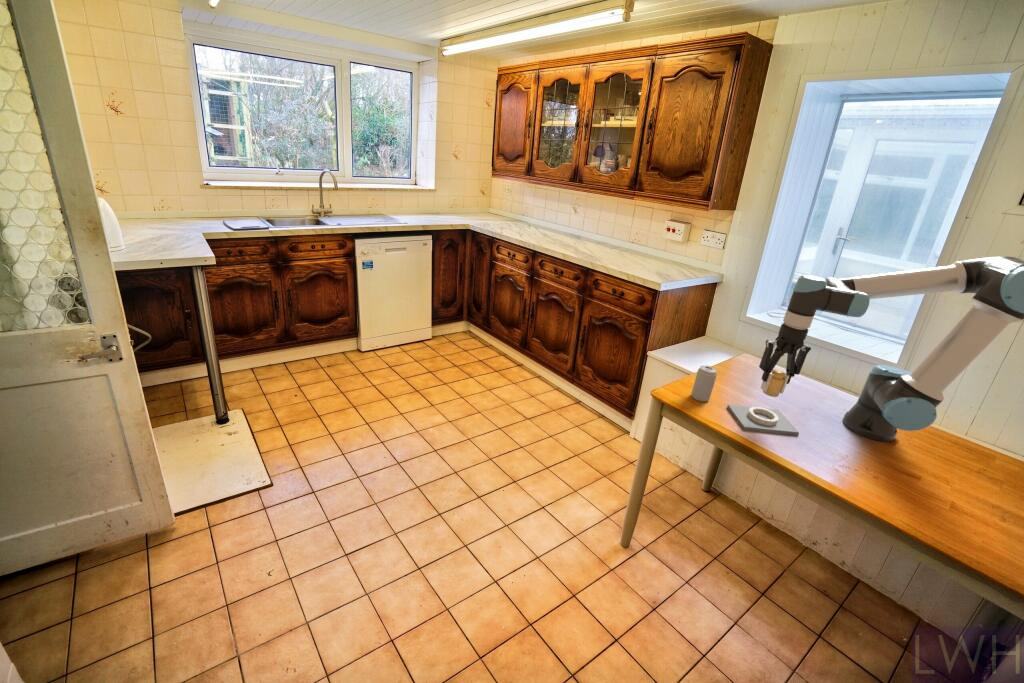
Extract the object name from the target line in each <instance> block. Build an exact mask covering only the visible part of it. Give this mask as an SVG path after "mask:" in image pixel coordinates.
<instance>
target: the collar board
mask: <svg viewBox="0 0 1024 683" xmlns="http://www.w3.org/2000/svg"><path fill="white" fill-rule="evenodd" d="M726 408H727V409H728V411H729V412H730V413H731V416H733V418H734V419H735V420H736V422H737V423H738V424H739V426H740V427H741V429H742V430H743V431H752V432H760V433H769V434H770V433H771V434H780V435H789V436H799V434H800V431H799V430H797V428H796V427H795V426H794V425H793V424H792V423H791V422H790V420H789V419H788V418H787V417H786V416H785V415H784V414H783V413H782V412H781V411H780V410H779V409H773V408H764V407H761V406H745V405H735V404H734V405H733V404H727V406H726Z"/></svg>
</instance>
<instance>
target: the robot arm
mask: <svg viewBox="0 0 1024 683" xmlns="http://www.w3.org/2000/svg"><path fill="white" fill-rule="evenodd" d="M797 278H798V279H797V281H796V283H795V286H794V288H793V290H792V294H791V297H790V299H789V303H788V305H787V309H786V311H785V313H784V317H783V319H782V321H783V322H781V325H780V328H779V330H778V336H777V337H776V338H775V339H774V340H768V339H767V340H766V341H765V348H764V352H763V354H762V357H761V360H760V363H759V366H758V367H759V368H760V369H761V371H763V373H762V374H761V375H762V376H761V381H762V383H761V385H760V389H761V390H762V392H763V391H764V392H767V389H768V386H769V384H770V381H771V378H772V375H773V374H772V370H773V369H775V367H776V365H777V364H778V362H779V361H780V359H781V358H782V357H783V356H784V355H785V354H787V359H786V368H785V371H783V372H784V373H785V374H784V377H783V378H784V379H785V380H784V383H783V385H782V388H781V391H780V393H779V394H784V393H785V388H786V386H787V385H789V383H790V381H791V380H792V378H794V377H795V376H797V375H800V374H801V371H802V368H803V366H804V363H805V362H806V361H805V360H806V358H807V355H808V353H809V352H810V351H811V350H812V347H811V346H809V345H808V344H806V343H804V341H805V340H806V338H807V337H808V336H807V335H808V333H809V331H810V330H809V328H811V325H812V324H813V321H814V318H815V315H816V312H817V311H819V312H825V313H829V314H834V315H835V314H836V315H840V316H844V317H848V318H849V317H850V318H861V317H863V316H864V315H865V314H866V313H867V311H868V308H869V306H870V300H876V299H885V298H894V297H905V296H916V295H926V294H934V293H946V292H947V293H948V292H953V293H955V294H957V295H958V294H959V295H960V294H974V295H973V296H972V298H971V301H972V305H973V306H972V307H971V308H970V310H969V311H968V312H967V313H966V314H964V316H963V317H962V318H961V319H960V320H959V321H958V323H956V325H955V326H954V327H953V328H952V329H951V330H950V331H949V332H948V333H947V334H946V335H945V337H944V338H942V340H941V341H940V342H939V343H938V344H937V345H936V347H934V348H933V350H932V351H931V352H930V353H929V354H928V355H927V356H926V357H925V358H924V359H923V360H922V361H921V362H920V363H919V365H918V366H917V367H916V368H915V369H914V370H913V371H912V372H911V371H909V370H905V369H902V368H899V367H895V366H891V365H885V364H878V365H877V364H876V365H874V366H873V367H872V369H871V370H870V372H869V373H868V376H867V379H866V381H865V383H864V385H863V388H862V390H861V392H860V395H859V397H858V400H856V403H855V404H854V405H852V407H851V408H850V409H849V410H848V411H846V413H845V414H844V416H843V418H842V423H843V424H844V425H845V427H847V429H850V431H852V432H854V433H856V434H858V435H860V436H862V437H865V438H867V439H871V440H874V441H880V442H892V441H894V440H895V439H896V437H897V434H898V430H902V431H906V432H912V431H921V430H924V429H927V428H929V427H930V426H931V425H933V423H934V422H935V421H936V420H937V416H938V414H937V412H938V411H937V409H936V408H937V407H939V405H940V404H941V403H942V402H943V401H944V400H945V398H944V394H943V392H944V391H945V390H947V388H948V387H949V385H951V384H952V383H953V381H955V380H956V378H958V377H959V376H960V374H962V373H963V372H964V371H965V370H966V368H967V367H968V366H969V365H970V364H971V363H972V362H973V361H974V360H976V359H977V357H978V356H980V354H981V353H982V352H983V351H984V350H986V349H987V347H988V346H989V345H990V344H991V343H992V342H993V341H994V340H995V339H996V338H997V337H998V336H999V335H1000V334H1001V333H1002V332H1003V331H1004V330H1005V329H1006V328H1007V327H1008V326H1009V325H1010V324H1013V323H1019V322H1022V321H1023V320H1024V260H1023V259H1020V258H1017V257H1014V256H1004V255H1000V256H989V257H980V258H972V259H971V258H970V259H964V260H957V261H953V262H952V263H951V264H950V265H946V266H945V265H944V266H943V265H942V266H936V267H926V268H920V269H912V270H904V271H895V272H887V273H879V274H878V273H877V274H871V275H870V274H869V275H862V276H853V277H844V278H843V277H842V278H838V277H835V276H827V277H824V278H823V277H821V276H820V277H819V276H816V275H810V274H804V275H800V276H799V277H797ZM764 392H763V393H764Z"/></svg>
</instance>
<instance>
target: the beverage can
mask: <svg viewBox="0 0 1024 683" xmlns="http://www.w3.org/2000/svg"><path fill="white" fill-rule="evenodd" d="M717 372H718V371H717V369H716V368H715V367H713V366H709V365H700V366H699V368H698V369H697V373H696V375H695V379H694V383H693V387H692V390H691V396H692V398H693V399H695V400H696V401H697V402H702V403H703V402H709V400H710V398H711V396H712V393H713V390H714V386H715V382H716V380H717V376H718V374H717Z"/></svg>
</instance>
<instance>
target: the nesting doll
mask: <svg viewBox="0 0 1024 683" xmlns="http://www.w3.org/2000/svg"><path fill="white" fill-rule="evenodd" d="M784 372H785V371H783V370H780V369H777V368H774V369H773V370H772V372H771V373H772V374H773V375H772V378H771V381H770V384H769V386H768V389H767V392H764V391H763V390H762V393H763V394H764V395H767V396H769V397H772V398H777V397H779V396H780V394H781V393H780V391H781V388H782V385H783V383H784V380H785V379H784V378H783V377H784V374H785V373H784Z"/></svg>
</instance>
